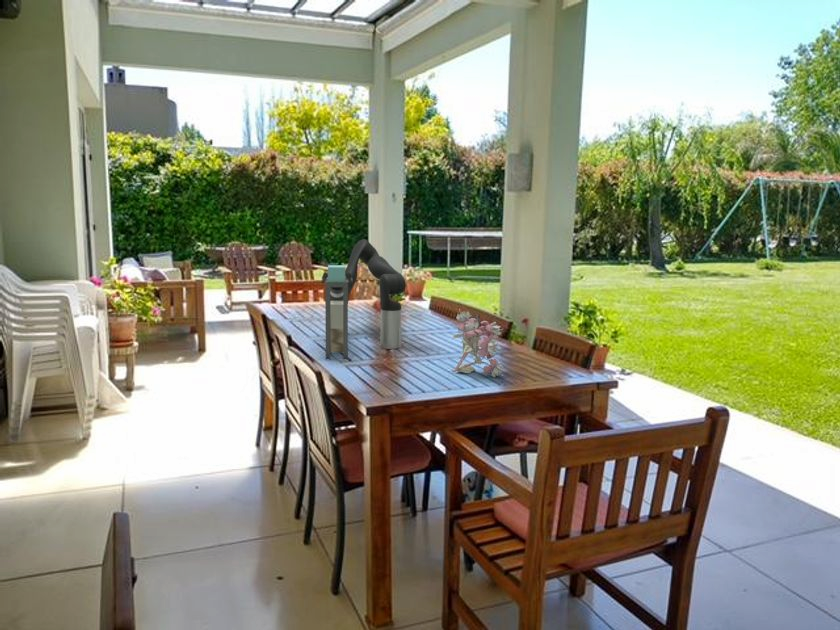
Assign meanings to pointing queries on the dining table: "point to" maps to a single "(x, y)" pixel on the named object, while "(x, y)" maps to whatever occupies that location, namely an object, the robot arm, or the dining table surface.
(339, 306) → the tower top block
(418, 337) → the dining table surface
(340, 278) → the handle block
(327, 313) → the stand
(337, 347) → the tower base block
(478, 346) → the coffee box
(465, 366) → the flower
